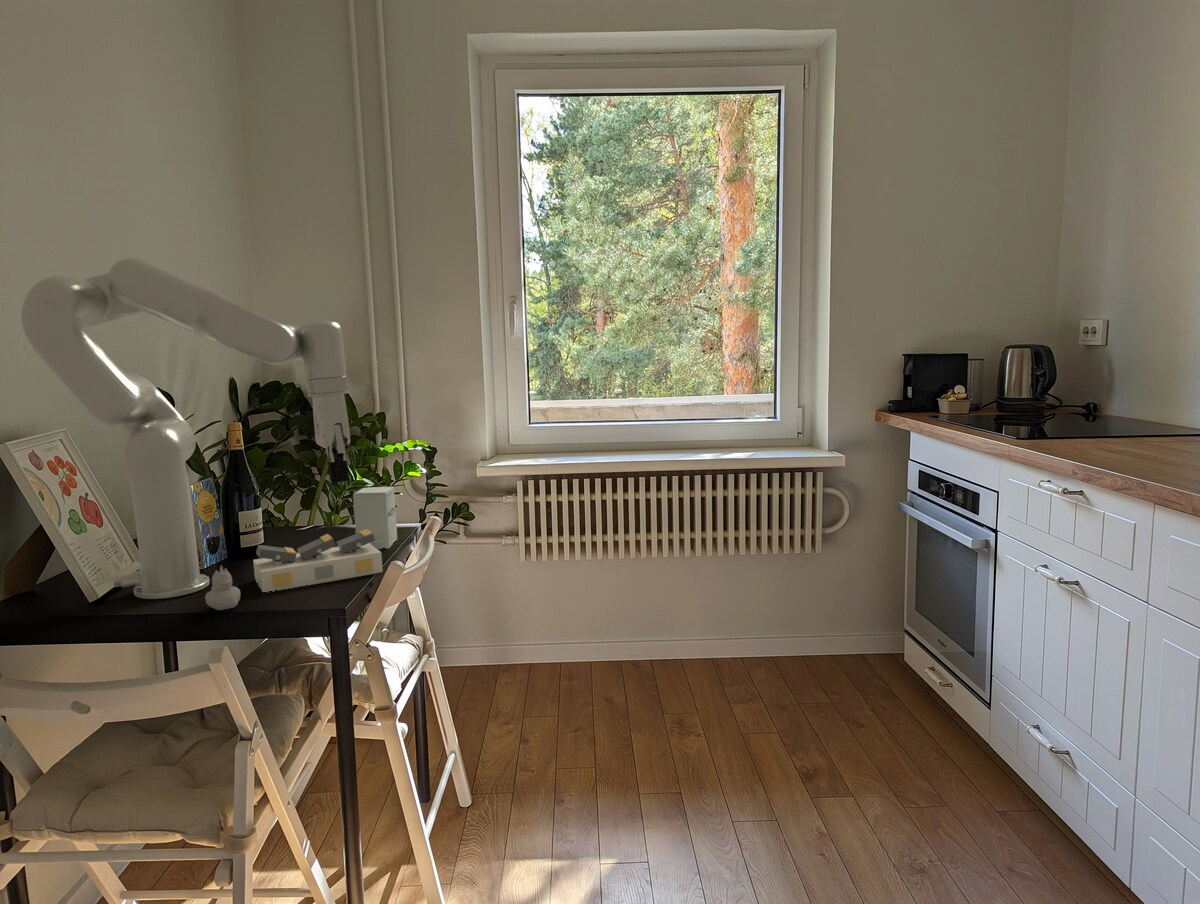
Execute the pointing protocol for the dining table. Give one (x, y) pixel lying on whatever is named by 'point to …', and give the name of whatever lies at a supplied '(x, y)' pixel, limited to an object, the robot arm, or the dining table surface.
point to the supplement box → (376, 514)
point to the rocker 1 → (276, 553)
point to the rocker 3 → (355, 541)
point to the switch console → (317, 568)
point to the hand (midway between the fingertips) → (339, 481)
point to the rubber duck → (222, 591)
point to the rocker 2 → (316, 547)
